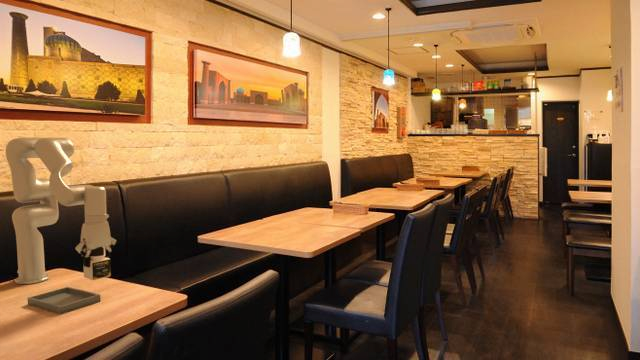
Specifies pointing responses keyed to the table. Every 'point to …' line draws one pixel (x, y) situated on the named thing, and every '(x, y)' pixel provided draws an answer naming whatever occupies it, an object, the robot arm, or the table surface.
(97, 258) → the medicine bottle
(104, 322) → the table surface
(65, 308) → the gray tray
